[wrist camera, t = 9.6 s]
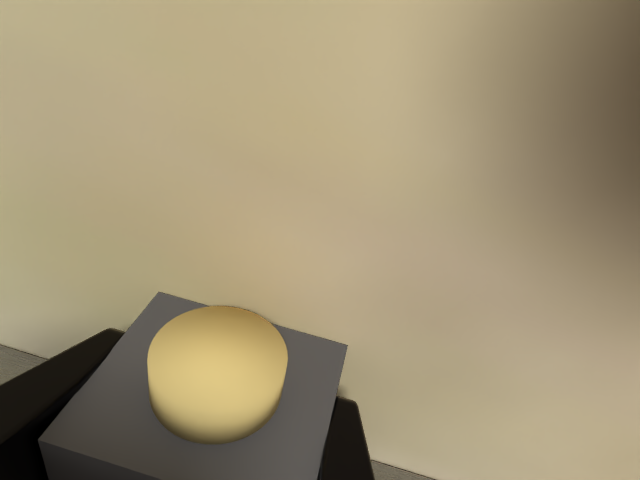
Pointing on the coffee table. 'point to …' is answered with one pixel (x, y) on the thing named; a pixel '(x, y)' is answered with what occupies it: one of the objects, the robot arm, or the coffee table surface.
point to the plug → (200, 401)
